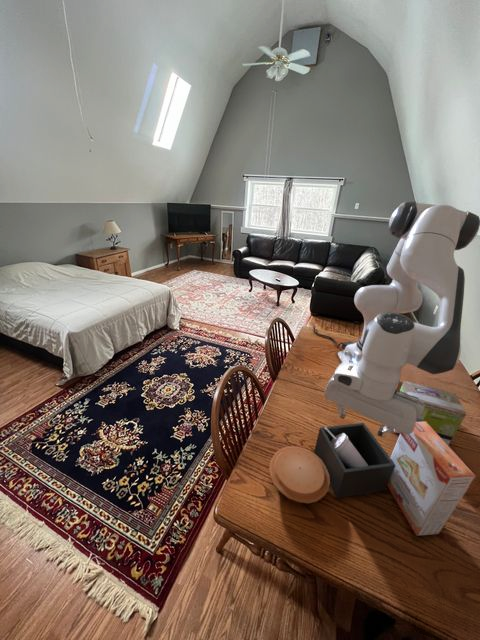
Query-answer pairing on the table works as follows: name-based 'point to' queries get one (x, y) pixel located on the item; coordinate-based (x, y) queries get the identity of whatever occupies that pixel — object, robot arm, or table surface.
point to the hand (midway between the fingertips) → (360, 425)
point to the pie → (299, 474)
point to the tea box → (437, 409)
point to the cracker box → (427, 479)
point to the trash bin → (359, 478)
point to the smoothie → (347, 451)
